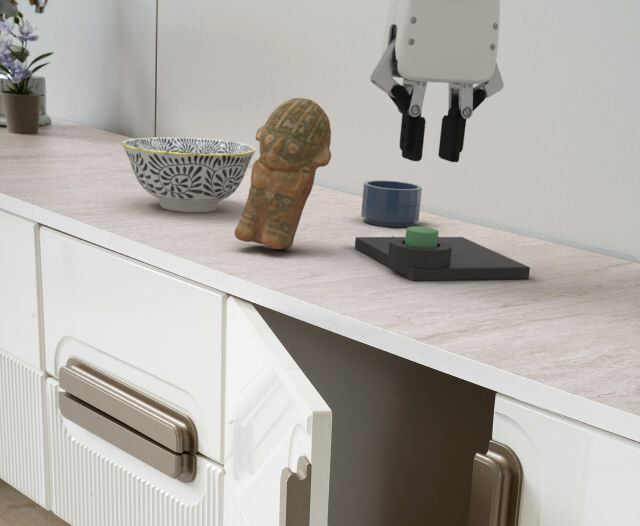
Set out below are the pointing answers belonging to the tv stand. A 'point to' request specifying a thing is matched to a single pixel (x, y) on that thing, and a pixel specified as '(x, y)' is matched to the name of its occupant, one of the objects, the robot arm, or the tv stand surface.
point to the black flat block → (442, 259)
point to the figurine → (284, 172)
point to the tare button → (421, 237)
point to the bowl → (188, 170)
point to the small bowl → (391, 203)
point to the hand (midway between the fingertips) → (430, 157)
